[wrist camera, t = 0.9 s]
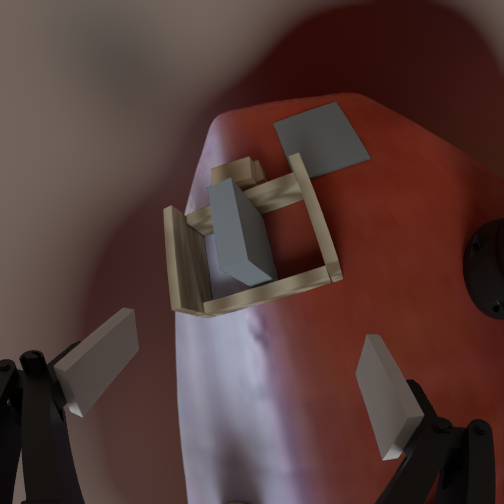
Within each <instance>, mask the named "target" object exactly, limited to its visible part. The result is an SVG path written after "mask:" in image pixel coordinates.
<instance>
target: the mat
mask: <svg viewBox="0 0 504 504" xmlns="http://www.w3.org/2000/svg"><path fill="white" fill-rule="evenodd" d="M273 124H274V127H275V129H276V132H277V134H278V137H279V139H280V142H281V144H282V147H283V150H284V152H285V155H286V158H287V160H288V163H289V166H290V168H291V171H292V173H293V172H294V170H293V168H292V165H291V162H290V160H289V157H288V156H291V155H293V154H296V153H299V154H300V157H301V159H302V161H303V164H304V166H305V169H306V171H307V174H308V176H309V179H312V178H315V177H318V176H321V175H324V174H327V173H330V172H333V171H336V170H339V169H342V168H345V167H348V166H351V165H354V164H357V163H360V162H363V161H366V160H369V159H370V156H369V154H368V152H367V151H366V149H365V147H364V146H363V144H362V142H361V140H360V139H359V137H358V135H357V134H356V132H355V130H354V129H353V127H352V126H351V124H350V122H349V121H348V119H347V118H346V116H345V115H344V113H343V111H342V110H341V108H340V107H339V105H338V104H337V102H333V103H330V104H327V105H324V106H321V107H318V108H315V109H312V110H309V111H306V112H303V113H300V114H297V115H294V116H291V117H289V118H286V119H283V120H281V121H278V122H275V123H273ZM294 174H295V173H294ZM296 179H297V178H296Z"/></svg>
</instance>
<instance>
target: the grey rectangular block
mask: <svg viewBox="0 0 504 504" xmlns="http://www.w3.org/2000/svg"><path fill="white" fill-rule="evenodd" d="M207 189H208V196H209V203H210V210H211V216H212V223H213V230H214V236H215V242H216V249H217V255H218V261H219V267H220V270H221V271H223V272H225V273H227V274H229V275H230V276H232V277H234V278H236V279H237V280H239V281H241V282H243V283H245V284H246V285H248V286H250V287H252V288H256V287H259V286H262V285H266V284H269V283H272V282H275V281H279V280H278V276H277V272H276V268H275V264H274V259H273V255H272V251H271V247H270V243H269V239H268V235H267V231H266V227H265V223H264V219H263V217H262V216H261V214H260V213H259V212H258V210H257V209H256V208H255V207H254V205H253V204H252V203H251V202H250V200H249V199H248V198H247V197H246V195H245V194H244V193H243V192H242V190H241V189H240V188H239V187H238V185H237V184H236V183H235V182H234V180H233V179H232V178H228V179H226V180H224V181H221V182H219V183H217V184H214V185H212V186H210V187H207Z"/></svg>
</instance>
